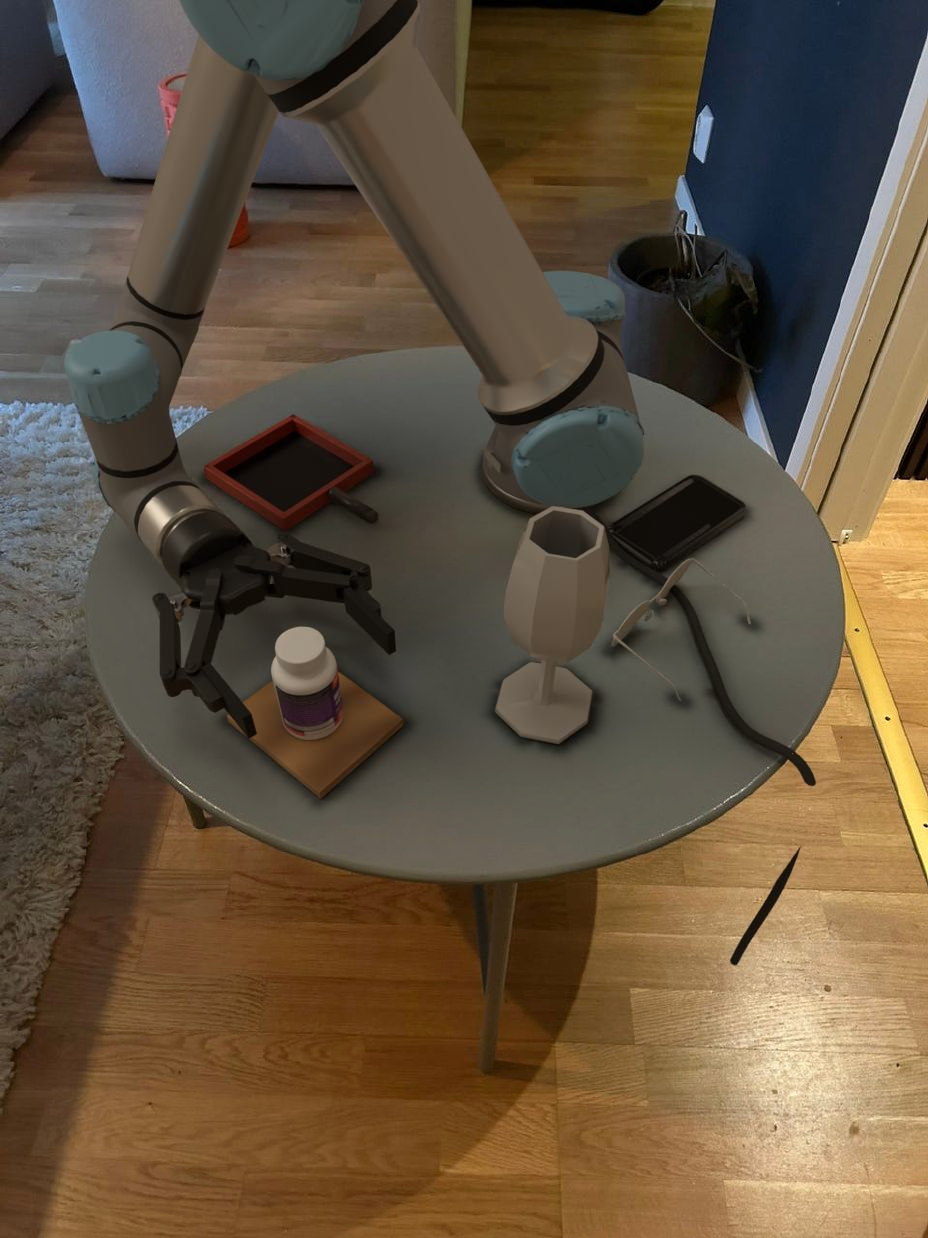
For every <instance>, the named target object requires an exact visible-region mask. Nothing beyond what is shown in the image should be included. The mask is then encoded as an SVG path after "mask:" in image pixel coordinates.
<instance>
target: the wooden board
mask: <svg viewBox="0 0 928 1238" xmlns="http://www.w3.org/2000/svg"><path fill="white" fill-rule="evenodd" d="M338 676H339V683H340V689H341V696H342V703H343V718H342V721H341V723H340V725H339V726H338V727H337V729H336V730H335V731H333V732H332V733H331V734H329V735H328V736H326V737H323V738H320V739H316V740H304V739H300V738H297V737H295V736H293V735H292V734H290V733H289V732H288V731H287V729H286V728H285V726H284V724H283V721H282V717H281V713H280V709H279V704H278V700H277V696H276V692H275V687H274V684H273V679H271V681H269V682H268V683H266V684H265V685H264V686H263V687H261V688H260V689H259V690H257V691H256V692H255V693H254V694H252V695H251V696H250V697H248V698H247V699H246V700H244V701H242V703H243V704H244V705H245V706H246V707H247V709H248V710H249V711H250V712H251V714H252V717H253V721H254V724H255V728H256V732H257V734H256V735H255V736H253V737H251V738H250V739H249V741H251V743H253V744H254V745H256V747H258V748H259V749H261V751H263V752H264V753H265V754H267V755H268V756H269V757H270V758H271V759H273V760H274V761H275V762H276V763H277V764H278V765H279V766H281V767H282V768H283V769H284V770H285V771H287V773H289V774H290V775H292V776H293V777H294V778H295V779H296V780H298V782H299V783H301V784H302V785H304V787H306V788H307V789H308V790H309V791H310V792H312V793H313V794H314V795H315V796H316V797H317V798H319V799H323V798H324V797H325V796H326V795H327V794H328V793H329V792H331V790H332V789H334V788H335V787H336V786H337V785H338V784H340V782H342V781H343V780H344V779H345V778H346V777H348V775H350V774H351V773H352V772H353V771H354V770H355V769H356V768H357V767H358V766H360V765H361V764H362V763H363V762H364V761H365V760H366V759H368V758H369V757H370V756H371V755H372V754H373V753H374V752H375V751H376V750H378V749H379V748H380V747H381V746H382V745H383V744H384V743H385V742H387V741H388V740H389V739H391V737H392V736H393V735H395V734H396V732H398V731H399V730H400V729H401V728H402V727H403V726H404V719H403V718H402V717H401V716H400V715H398V714H397V713H395V712H394V711H393V710H392V709H390V708H389V707H387V706H386V705H385V704H383V703H382V702H381V701H379V700H378V699H377V698H375V696H372V695H371V694H370V693H368V692H367V691H366V690H365V689H363V688H361V687H360V686H359V685H358V684H356V683H355V682H353V681H352V680H350V679H349V678H348V677H347V676H345V675H344V674H343V673H341V672H340V671H338ZM226 718H227V722H228V723H229V724H230V725H232V726H233V727H234V728H235V729H236V730H238V732H239V733H241V734H242V735H244V736H245V737H246V738H247V739H248V737H247V736H246V735H245V734H244V732H243V731H242V730H241V729H240V727H239V726H238V725H237V724H236V722H235V721H234V720H233V719H232V717H231V716H230V715H229V714H228V713H227V714H226Z"/></svg>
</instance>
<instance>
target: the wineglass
mask: <svg viewBox="0 0 928 1238" xmlns="http://www.w3.org/2000/svg"><path fill="white" fill-rule="evenodd" d="M528 519H529V520H528V522H527V523H526V525H525V527H524V530H523V532H522V534H521V536H520V539H519V542H518V545H517V548H516V549H517V550H516V553H515V557H514V559H513V563H512V567H511V571H510V575H509V579H508V581H507V586H506V589H505V595H504V609H503V618H504V621H505V625H506V628H507V631H508V634H509V637H510V639H511V641H513V642H514V643H515V644H516V645H517V646H519V648H521V649H522V650H523V651H524V652H525V653H526V654H527V655H528V656H530V657H531V658H532V659H535V660H540V661H541V662H539V663H538V662H535V661H530V662H527V664H525V665H524V666H522V667H521V668H519V669H517V670H515V671H514V672H512V673H511V674H510V675H508V676H506V677H505V678H504V679H503V680H502V681H501V682H502V683H501V685H500V689H499V693H498V696H497V700H496V704H495V708H494V712H495V714H496V715H497V716H498V717H500V719H501V720H502V721H504V723H505V724H506V725H507V726H508V727H510V728H511V729H512V730H513V731H514V733H516V734H517V735H518V736H519V737H520V738H524V739H530V740H533V741H534V740H535V741H541V742H544V743H551V744H556V745H560V744H561V743H562V742H564V741H565V740H566V739H568V738H570V737H571V736H572V735H574V734H575V733H576V732H578V731H579V730H581V729H582V728H584V727H585V726H586V725H587V724H588V723H589V716H590V710H591V705H592V698H593V690H592V689H591V688H590V687H589V686H587V685H586V684H585V683H584V682H583V681H582V680H580V679H579V677H577V676H576V675H575V674H573V672H571V670H569V669H568V668H567V667H561V666H557V664H561V665H562V664H563V665H566V664H568V663H569V662H571V661H572V660H575V659H576V658H577V657H579V656H581V654H583V653H584V652H586V651H588V650H589V649H590V648H591V646H592V645H593V643H594V641H595V639H596V638H597V637H598V635H599V633H600V631H601V629H602V625H603V618H604V613H605V608H606V602H607V596H608V590H609V585H610V581H611V559H610V553H611V552H610V547H609V544H608V540H607V536H606V532H605V528H604V526H603V525H601V524H600V523H599V522H597V521H596V520H595V519H593V518H592V517H591V516H589V515H588V514H587V513H585V512H584V511H582V510H575V509H569V508H562V507H556V506H552V507H550V508H548V509H546V510H544V511H543V512H541V513H539V514H534V515H533V516H531V517H530V518H528Z"/></svg>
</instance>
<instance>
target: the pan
mask: <svg viewBox="0 0 928 1238" xmlns="http://www.w3.org/2000/svg"><path fill="white" fill-rule="evenodd" d="M374 463H375V462H374V459H372V458H370V457H369V456H367V455H365V454H364V453H362V452H361V451H358V450H357V449H355V448H353V447H351V446H350V445H348V444H346V443H345V442H342V441H341V440H339V439H337V438H336V437H334V436H332V435H331V434H329V433H328V432H325V431H324V430H322V429H320V428H318V427H317V426H315V425H314V424H312V423H310V422H308V421H306V420H304V418H301V417H299V416H298V415H297V414H296V415H295V414H294V413H292V414H290V415H288V416H287V417H285V418H284V419H281V420H280V421H278V422H276V423H275V424H273V425H272V426H269V427H268V428H266V429H265V430H263V431H260V433H258V434H256V435H254V436H253V437H251V438H249V439H248V440H246V441H244V442H242V443H241V444H238V445H237V446H235V447H234V448H231V449H230V450H229V451H227V452H225V453H223V454H222V455H220V456H219V457H216V458H215V459H213V460H211V461H210V462H207V463H206V464H204V465H203V466H202V468H203V473H204V476H205V479H206V480H208V481H209V482H210V483H212V484H214V485H215V486H216V487H218V488H219V489H221V490H223V491H224V492H225V493H226V494H228V495H230V496H232V497H233V498H234V499H236V500H237V501H239V502H241V504H243V505H245V506H246V507H248V508H249V509H251V510H252V511H254V512H256V513H257V514H259V516H261V517H263V518H265V519H266V520H268V521H270V522H271V523H272V524H273V525H275V526H277V527H278V528H280V529H281V530H283V532H287V531H288V530H290V529H291V528H293V527H294V526H296V525H297V524H299V523H300V522H302V521H303V520H305V519H306V518H308V517H310V516H311V515H312V514H313V513H315V512H317V511H318V510H320V509H321V508H323V507H324V506H326V505H328V504H329V503H330V502H333V503H335V504H336V505H338V506H339V507H341V508H343V509H344V510H346V511H348V512H349V513H350V514H353V515H354V516H355V517H357V518H359V519H360V520H362V521H364V522H365V523H367V524H369V525H374V524H376V523H377V522H378V521H379V519H380V515H379V512H378V511H377V510H376V509H374V508H373V507H371V506H369V505H368V504H365V503H364V502H363V501H361V500H359V499H358V498H356V497H354V496H353V495H352V494H350V493H348V492H347V491H348V490H350V489H351V488H353V487H355V486H356V485H357V484H359V483H360V482H361V481H363V480H366V478H368V477H370V476H371V475H373V474H374V473H375V465H374Z"/></svg>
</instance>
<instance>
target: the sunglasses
mask: <svg viewBox="0 0 928 1238" xmlns="http://www.w3.org/2000/svg"><path fill="white" fill-rule="evenodd" d="M692 562H694V563H695V564H696V565H698V566H699V567H700V568H701V569H702V570H704V571H705V572H706V573H708V574H709V575H710V576H711V577H712V578H713V579H715V580H716V581H717V582H719V583H720V584H721V585H722V586H724V588H725V589H727V590H728V591H729V592H731V593H732V595H733V596H735V597H736V598H737V599H738V600H739V601H740V602H741V603H742V604H743V606H744V607H745V611H746V618H747V624H748V625H752V623H751V617H750V612H749V608H748V605H747V603H746V602H745V601H744V599H742V598H741V597H740V596H739V595H737V593H735V592H734V591H732V590H731V589H730V588H729V587H728V586H726V585H725V584H724V583H723V582H722V581H721V580H720V579H719V578H717V577H716V576H715V575H714V574H713V573H712V572H710V570H709V569H707V568H706V567H705V566H704V565H702V564H701V562H699V561H698V560H697V559H695V558H693V557H691V558H687V559H685V560H684V561H683V562H681V563H680V564H679V566H677V567H676V568H675V570H674V571H673V572H672V573H671V575H669V577H668V578H667V579H668V580H667V582H666V583H665V585H664V586H662V588H661V590H659V592H658V593H657V594H656V595H655V596H653V597H652V599H650V600H643V601H642V602H641V603H640V604H638V605H637V606H636V607H635V608H634V609H632V610H631V612H630V613H629V614H628V615H627V617H626V618H625V619H624V621H623V622H622V623H621V625H620V626H619V628H618V629H617V630H616V631H615V632H614V633H613V635H612V637H613V639H612V641H611V647H612V648H613V647H615V646H617V645H618V644H620V645H621V646H623V647H624V648H626V649H627V650H628V651H629V652H631V653H632V654H633V655H634V656H635V657H637V658H638V659H639V660H641V661H642V662H643V663H645V664H646V665H648V667H650V668H651V669H652V670H653V671H655V672H656V673H657V674H658V675H659V676H660V677H661V678H662V679H663V680H665V681H666V682H668V683H669V684H670V686H672V688H673V689H674V692H675V695H676V697H677V699H678V701H680V702H682V699H681V698H680V697H681V696H680V695H679V692H678V690H677V688H676V686H675V685H674V684H673V683H672V681H670V679H668V678H667V677H666V676H664V674H662V673H661V672H660V671H658V670H656V669H655V668H654V667H653V666H652V665H651V664H650V663H648V662H647V661H646V660H644V658H642V657H641V656H640V655H639V654H637V653H636V652H635V651H634V650H633V649H632V648H630V647H629V646H628V645H627V644H626V643H624V641H622V640H623V639H624V638H625V637H626V635H627V634H629V632H631V630H632V629H633V628H634V627H635V626H636V624H637V623H638V622H639V621H640V619H641V618H642V617H643V616H644V615H645V614H646V615H645V617H644V619H643V620H644V622H649V621H650V619H651V618H652V617H653V615H654V609H652V608H651V609H650V610H649V609H648V608H649V606H650V605H651V603H652V602H653V601H654V600H655V603H657V604H658V606H665V605H666V604H667V599H665V598H666V597H667V596H668V595H669V594H670V592H669V590H670V589H671V587H672V586H673V585H676V586H677V584H678V583H679V582H680V581H681V579H682V578H683V576H684V574H685V573H686V572H687V570H688V568H689V567H690V565H691V564H692Z"/></svg>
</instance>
